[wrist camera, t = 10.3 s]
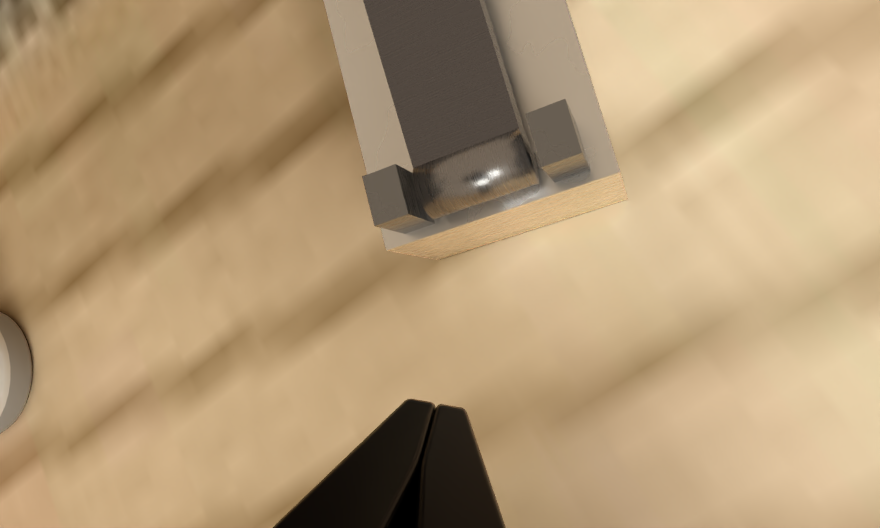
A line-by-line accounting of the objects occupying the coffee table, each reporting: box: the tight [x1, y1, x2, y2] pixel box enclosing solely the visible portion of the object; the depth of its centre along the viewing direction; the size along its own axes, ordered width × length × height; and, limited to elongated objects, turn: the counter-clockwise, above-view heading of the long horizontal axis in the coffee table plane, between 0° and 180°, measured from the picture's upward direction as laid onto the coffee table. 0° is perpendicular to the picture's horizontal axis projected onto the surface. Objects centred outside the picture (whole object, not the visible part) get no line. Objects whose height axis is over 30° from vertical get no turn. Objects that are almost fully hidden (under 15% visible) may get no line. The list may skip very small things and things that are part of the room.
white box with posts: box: [323, 0, 628, 260], centre depth 18 cm, size 12×7×8 cm, turn 16°
